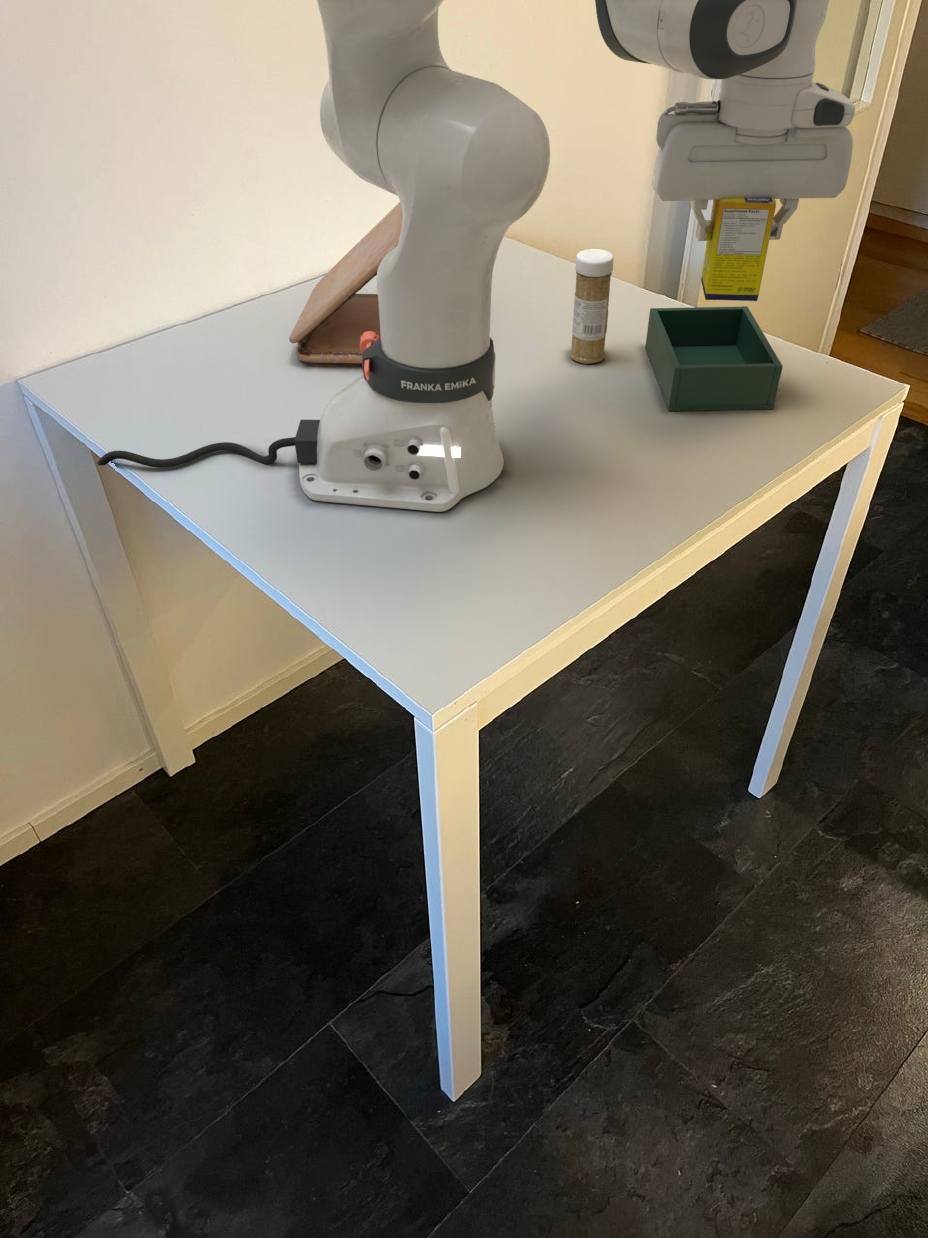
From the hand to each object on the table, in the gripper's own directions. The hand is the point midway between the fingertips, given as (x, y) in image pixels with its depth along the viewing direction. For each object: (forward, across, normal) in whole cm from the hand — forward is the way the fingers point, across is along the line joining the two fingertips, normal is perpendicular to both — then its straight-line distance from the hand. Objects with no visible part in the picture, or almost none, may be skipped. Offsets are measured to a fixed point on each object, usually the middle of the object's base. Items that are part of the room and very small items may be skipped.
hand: (737, 238), depth 106 cm
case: (+19, -42, +17) cm, 49 cm away
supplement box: (+6, 0, 0) cm, 6 cm away
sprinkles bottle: (+19, -14, +9) cm, 25 cm away
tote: (+18, 0, +3) cm, 19 cm away
